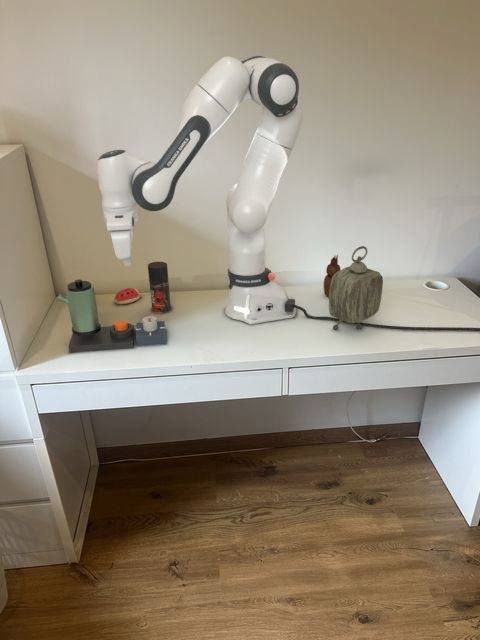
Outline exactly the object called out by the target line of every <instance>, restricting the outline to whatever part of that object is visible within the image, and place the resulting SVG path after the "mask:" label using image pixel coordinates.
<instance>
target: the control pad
mask: <svg viewBox="0 0 480 640" xmlns="http://www.w3.org/2000/svg"><path fill="white" fill-rule="evenodd" d="M135 327H136V328H135V344H136V347H147V346H159V345H166V344H167V341H166V323H165V320H159V321H158V320H157V327H158V328H157V330H155V331H152V332H147V331H144V330H143V322H136V326H135Z"/></svg>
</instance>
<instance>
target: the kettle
mask: <svg viewBox="0 0 480 640" xmlns="http://www.w3.org/2000/svg"><path fill="white" fill-rule="evenodd" d="M65 294H66V296H64V295H62V294H60V293H59V294H58V296H57V298H56V300H58V301H60V302H61V303H64V304H65V305H68V310H69V316H70V320H71V321H70V322H71V332H72V334H74V335H77V336H90V335H94V334H96V333H98V332H99V331H100V330H101V327H102V325H101V323H100V319H99V313H98V307H97V301H96V293H95V288H94V284H93V283H92V282H90V281H88V280H82V279H75V280H74V281H72V282H70V283H68V284H67V285H66V286H65Z"/></svg>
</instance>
